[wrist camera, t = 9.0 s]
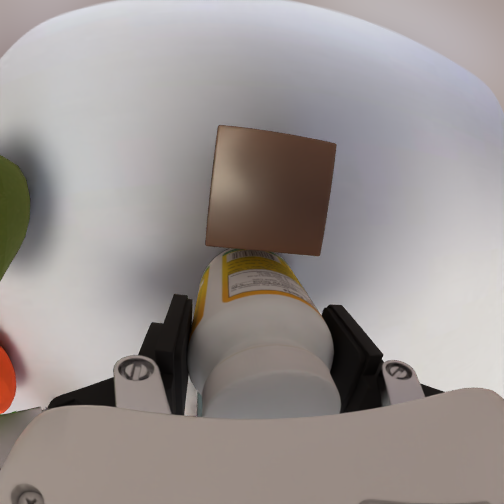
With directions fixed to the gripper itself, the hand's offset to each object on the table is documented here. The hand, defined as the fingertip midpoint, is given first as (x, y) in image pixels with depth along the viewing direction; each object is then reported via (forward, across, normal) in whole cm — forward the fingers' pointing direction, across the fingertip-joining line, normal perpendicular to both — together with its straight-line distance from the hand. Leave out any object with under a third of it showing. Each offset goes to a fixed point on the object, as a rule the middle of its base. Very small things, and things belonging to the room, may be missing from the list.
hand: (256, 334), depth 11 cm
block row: (+5, 0, +6) cm, 7 cm away
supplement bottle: (+5, 0, 0) cm, 5 cm away
